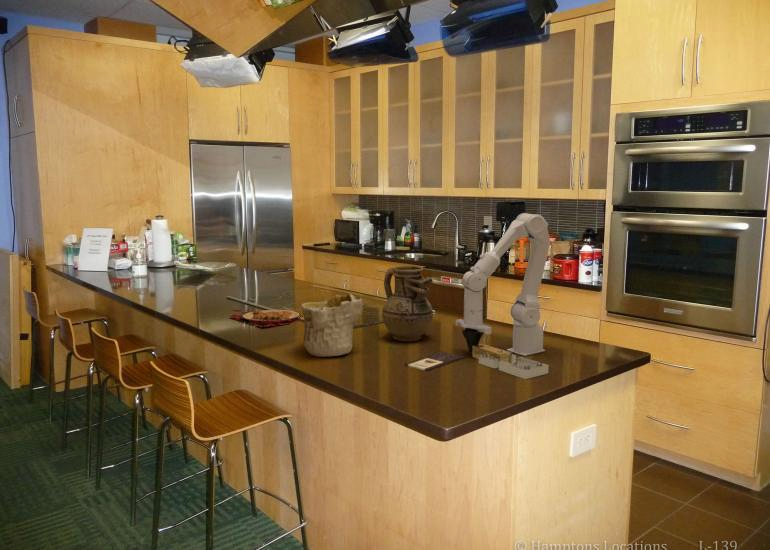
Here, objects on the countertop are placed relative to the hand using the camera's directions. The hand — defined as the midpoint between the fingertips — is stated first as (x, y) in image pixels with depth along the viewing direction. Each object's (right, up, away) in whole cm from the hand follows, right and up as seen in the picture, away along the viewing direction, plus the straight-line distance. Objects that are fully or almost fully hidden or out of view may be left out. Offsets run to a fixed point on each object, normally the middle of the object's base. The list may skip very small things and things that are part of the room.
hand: (472, 352), depth 197 cm
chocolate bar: (-12, -3, -6) cm, 14 cm away
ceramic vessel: (-47, -1, +6) cm, 47 cm away
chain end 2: (+12, -4, -17) cm, 21 cm away
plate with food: (-73, +6, +55) cm, 92 cm away
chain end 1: (+6, -2, -9) cm, 11 cm away
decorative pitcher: (-20, +2, +22) cm, 30 cm away
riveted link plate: (+5, -2, -6) cm, 7 cm away
